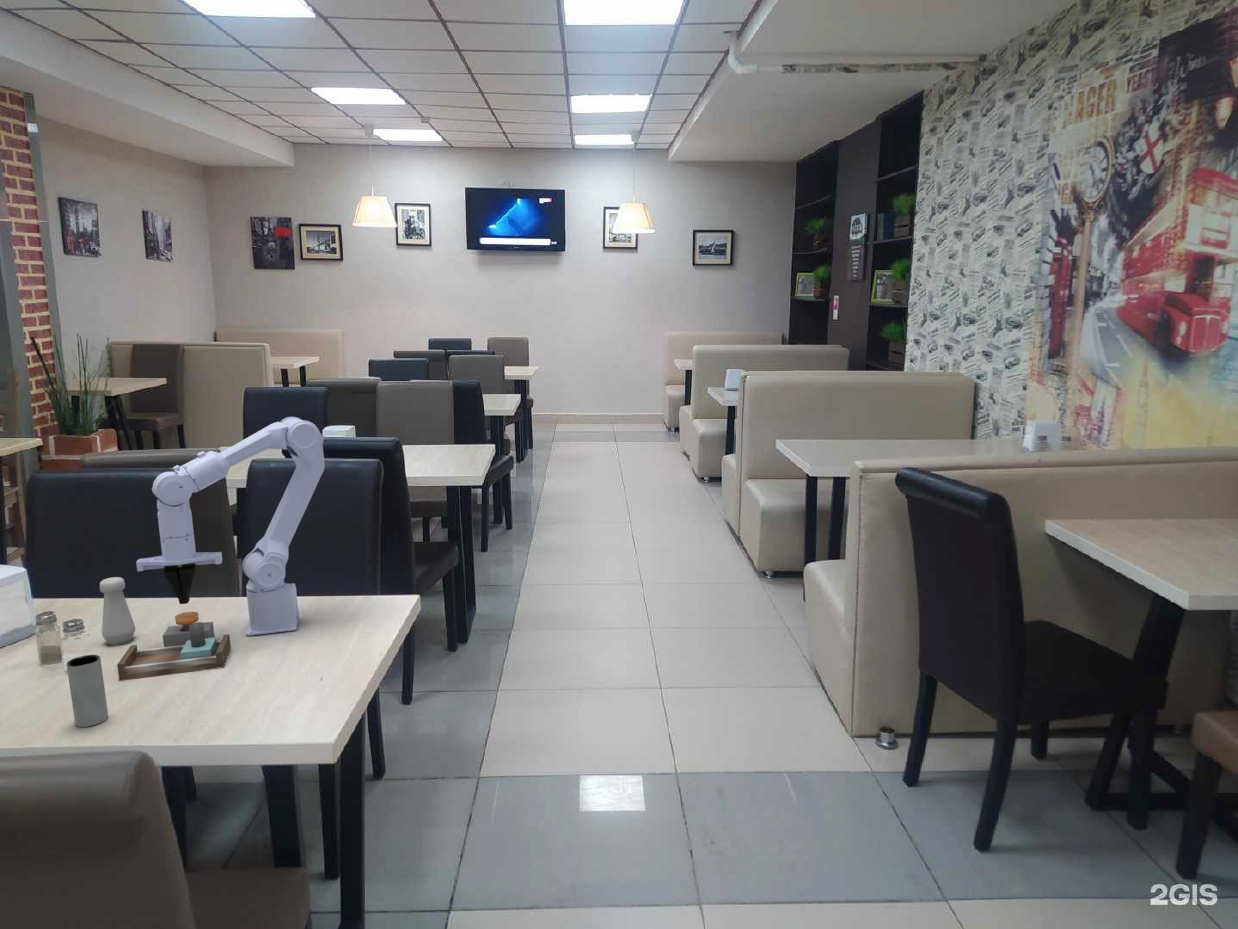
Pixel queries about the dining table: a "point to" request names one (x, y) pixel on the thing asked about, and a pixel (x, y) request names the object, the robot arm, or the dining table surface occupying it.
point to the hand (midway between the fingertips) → (184, 602)
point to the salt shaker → (116, 613)
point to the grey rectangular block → (184, 634)
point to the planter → (87, 690)
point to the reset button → (186, 619)
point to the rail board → (168, 660)
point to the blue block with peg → (198, 643)
